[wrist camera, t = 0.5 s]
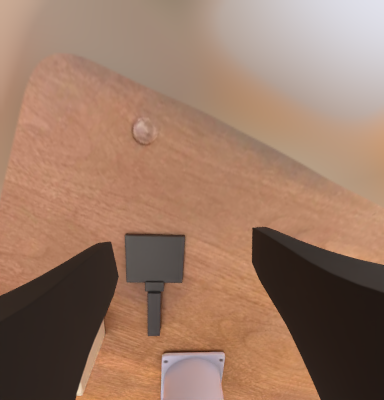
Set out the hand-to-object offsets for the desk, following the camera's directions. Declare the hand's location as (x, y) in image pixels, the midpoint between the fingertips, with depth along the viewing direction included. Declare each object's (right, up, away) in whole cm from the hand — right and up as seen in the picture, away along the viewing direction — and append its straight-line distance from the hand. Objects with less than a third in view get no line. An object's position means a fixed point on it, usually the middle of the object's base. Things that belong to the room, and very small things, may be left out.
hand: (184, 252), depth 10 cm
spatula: (-4, -7, +12) cm, 14 cm away
